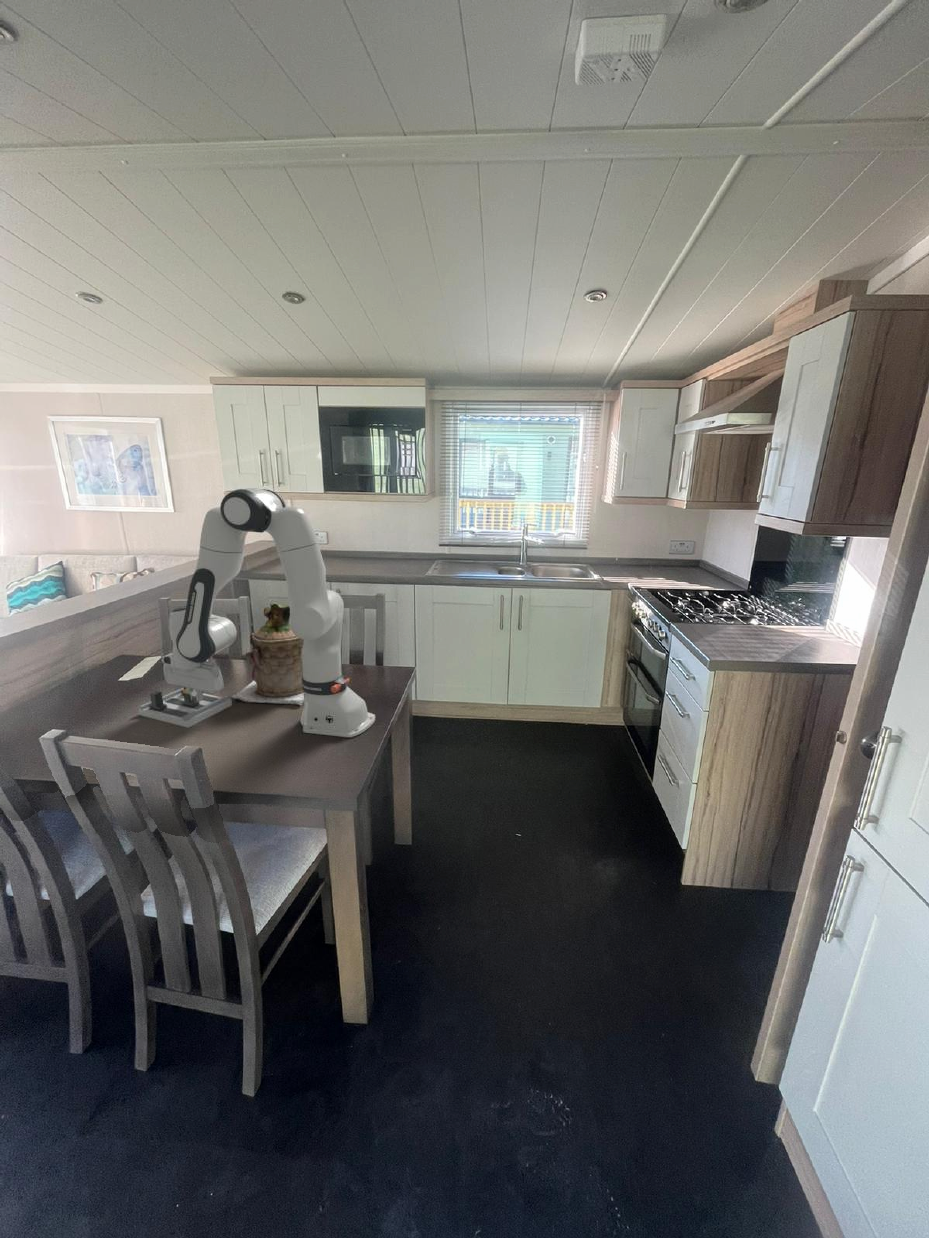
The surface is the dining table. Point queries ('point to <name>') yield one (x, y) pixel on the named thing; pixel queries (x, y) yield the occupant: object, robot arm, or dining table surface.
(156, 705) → the breaker left
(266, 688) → the cookie jar
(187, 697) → the breaker middle
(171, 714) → the panel
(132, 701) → the dining table surface
